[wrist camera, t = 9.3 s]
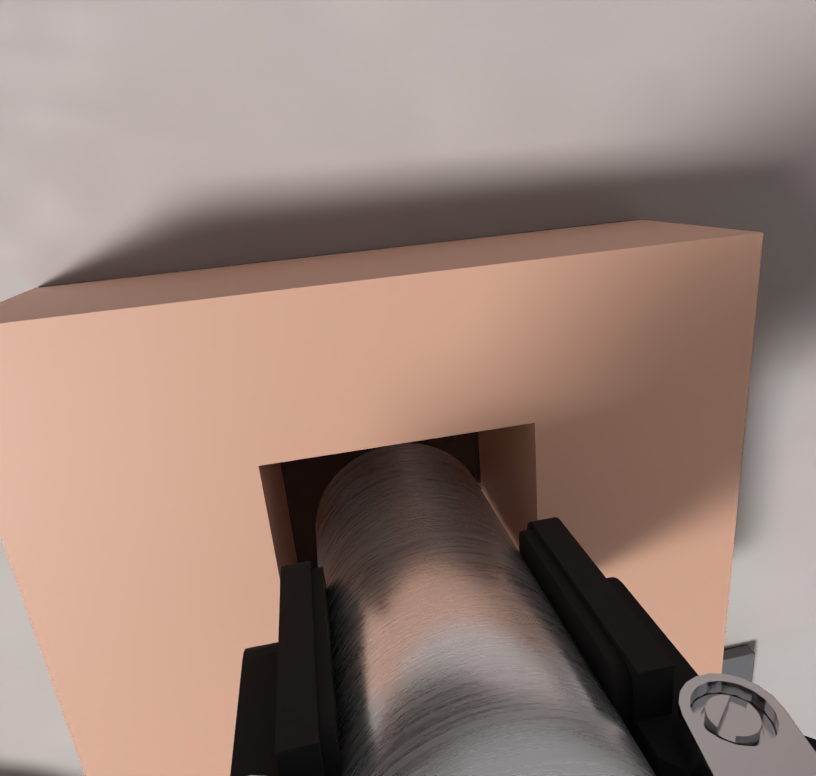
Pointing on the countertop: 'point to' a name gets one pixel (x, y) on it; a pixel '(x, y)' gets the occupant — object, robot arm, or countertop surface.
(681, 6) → the countertop surface
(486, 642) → the steel pin
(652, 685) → the robot arm
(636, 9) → the countertop surface
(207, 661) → the hole block
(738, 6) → the countertop surface
